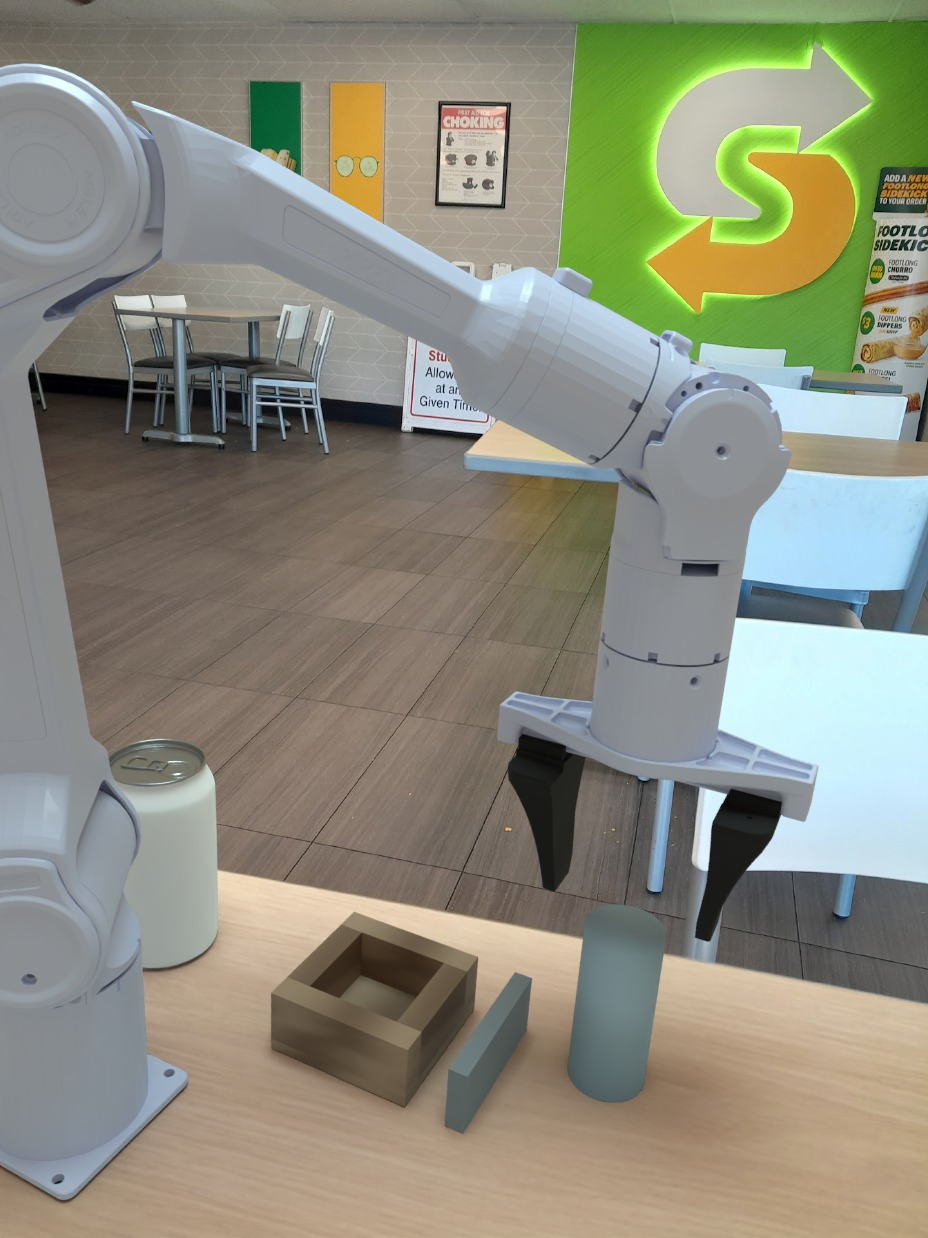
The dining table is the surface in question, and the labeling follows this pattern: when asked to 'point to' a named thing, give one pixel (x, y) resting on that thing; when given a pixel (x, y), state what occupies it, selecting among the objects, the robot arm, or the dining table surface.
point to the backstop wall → (487, 1053)
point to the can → (171, 848)
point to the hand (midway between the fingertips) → (628, 904)
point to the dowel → (615, 1002)
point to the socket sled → (374, 1006)
